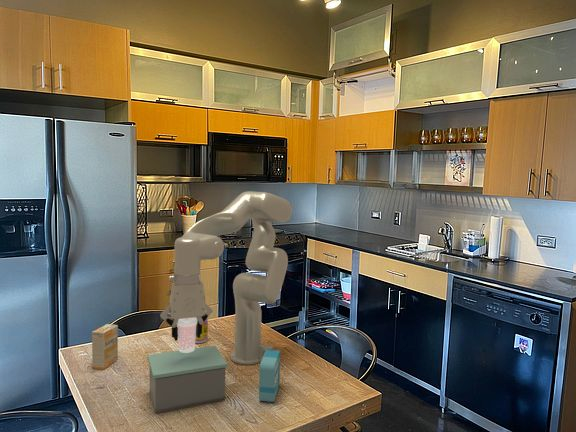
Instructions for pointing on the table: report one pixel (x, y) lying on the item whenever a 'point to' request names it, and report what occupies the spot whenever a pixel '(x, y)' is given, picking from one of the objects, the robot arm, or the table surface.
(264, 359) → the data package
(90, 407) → the table surface
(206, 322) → the supplement bottle
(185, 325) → the beverage cup
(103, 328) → the supplement box
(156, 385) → the storage box
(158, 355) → the lid
